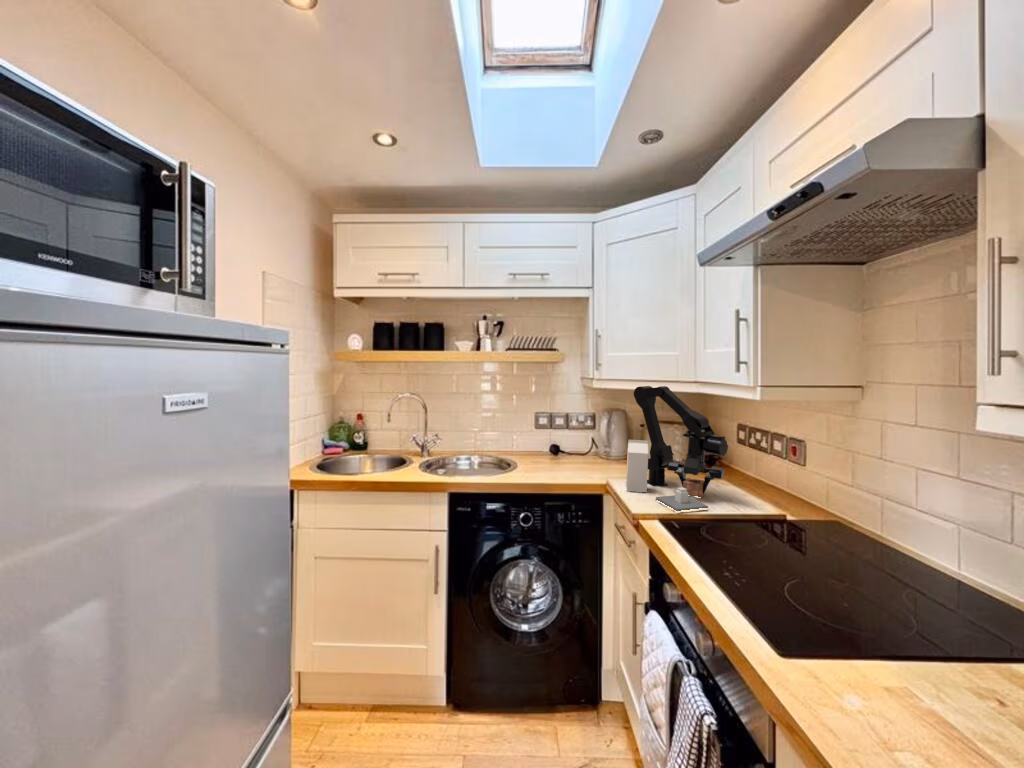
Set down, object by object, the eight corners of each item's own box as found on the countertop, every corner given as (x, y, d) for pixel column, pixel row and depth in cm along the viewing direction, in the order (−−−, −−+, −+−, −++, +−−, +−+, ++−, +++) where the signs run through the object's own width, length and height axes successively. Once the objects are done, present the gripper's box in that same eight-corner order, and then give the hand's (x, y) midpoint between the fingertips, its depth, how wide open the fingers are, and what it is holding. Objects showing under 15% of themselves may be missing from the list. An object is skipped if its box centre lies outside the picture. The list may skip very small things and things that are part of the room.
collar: (682, 495, 169) (683, 481, 168) (686, 490, 174) (687, 477, 173) (700, 498, 165) (701, 485, 165) (704, 494, 170) (705, 480, 170)
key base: (655, 501, 162) (656, 484, 161) (684, 498, 165) (685, 482, 164) (676, 513, 150) (677, 495, 150) (707, 510, 153) (708, 492, 153)
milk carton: (646, 493, 170) (648, 442, 168) (626, 491, 171) (628, 441, 169) (644, 487, 177) (647, 438, 175) (625, 485, 178) (628, 437, 176)
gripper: (664, 450, 166) (661, 492, 168) (719, 458, 156) (716, 503, 157) (672, 445, 176) (670, 485, 177) (725, 452, 165) (722, 494, 167)
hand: (693, 491), depth 169 cm, fingers closed on collar, 6 cm apart
